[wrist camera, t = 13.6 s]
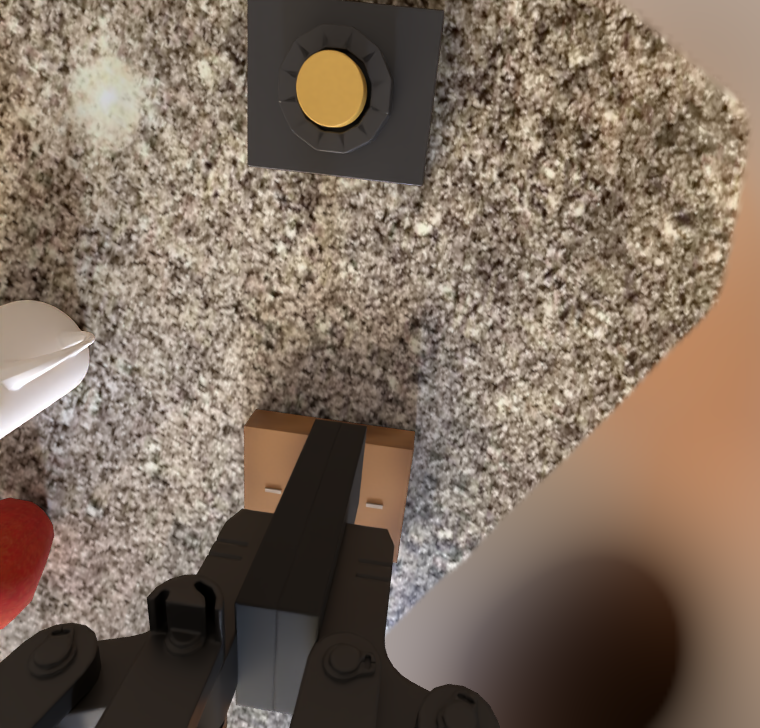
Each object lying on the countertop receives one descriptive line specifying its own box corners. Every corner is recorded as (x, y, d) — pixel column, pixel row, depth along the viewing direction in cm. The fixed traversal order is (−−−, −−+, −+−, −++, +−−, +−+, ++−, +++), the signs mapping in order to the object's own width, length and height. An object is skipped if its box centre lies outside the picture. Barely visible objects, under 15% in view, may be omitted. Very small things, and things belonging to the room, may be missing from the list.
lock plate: (415, 431, 45) (413, 451, 42) (398, 539, 50) (396, 564, 47) (255, 408, 46) (243, 426, 43) (254, 517, 51) (243, 540, 48)
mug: (144, 369, 45) (64, 433, 36) (30, 398, 48) (-75, 465, 38) (97, 274, 42) (-5, 315, 33) (-22, 311, 45) (-151, 359, 35)
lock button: (370, 57, 31) (366, 53, 30) (364, 130, 33) (360, 130, 31) (304, 51, 32) (297, 46, 30) (301, 123, 33) (294, 123, 31)
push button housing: (444, 17, 33) (445, 2, 30) (423, 183, 37) (421, 188, 34) (258, -1, 34) (236, -18, 30) (257, 164, 38) (237, 167, 34)
